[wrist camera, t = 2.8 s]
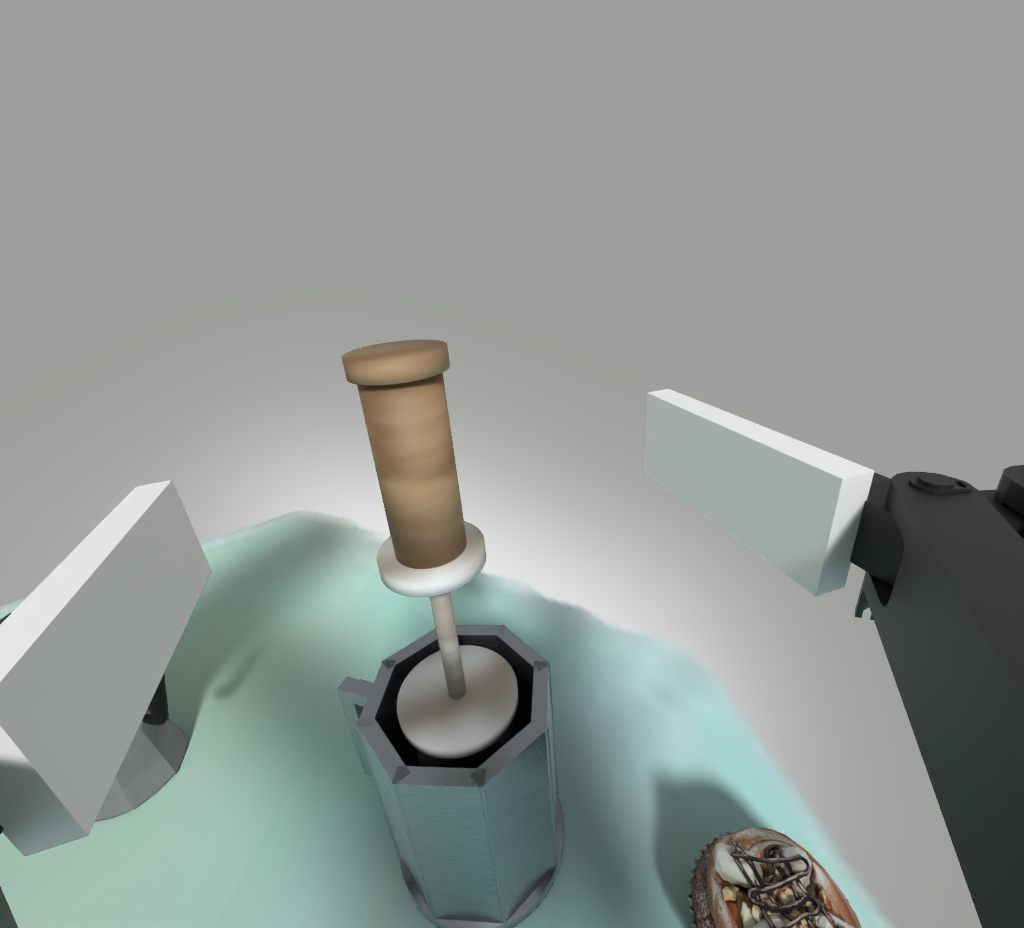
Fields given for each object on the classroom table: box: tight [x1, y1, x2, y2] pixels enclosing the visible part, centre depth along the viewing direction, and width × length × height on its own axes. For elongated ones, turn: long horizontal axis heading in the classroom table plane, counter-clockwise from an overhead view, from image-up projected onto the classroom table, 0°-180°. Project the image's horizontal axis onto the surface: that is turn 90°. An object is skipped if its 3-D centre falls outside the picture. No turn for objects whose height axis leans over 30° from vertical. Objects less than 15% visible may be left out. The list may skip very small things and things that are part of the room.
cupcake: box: [688, 828, 862, 928], centre depth 28 cm, size 10×10×10 cm
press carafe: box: [337, 625, 564, 928], centre depth 36 cm, size 16×13×16 cm
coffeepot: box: [95, 674, 189, 822], centre depth 41 cm, size 15×9×18 cm, turn 83°
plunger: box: [342, 340, 518, 759], centre depth 27 cm, size 8×8×23 cm
